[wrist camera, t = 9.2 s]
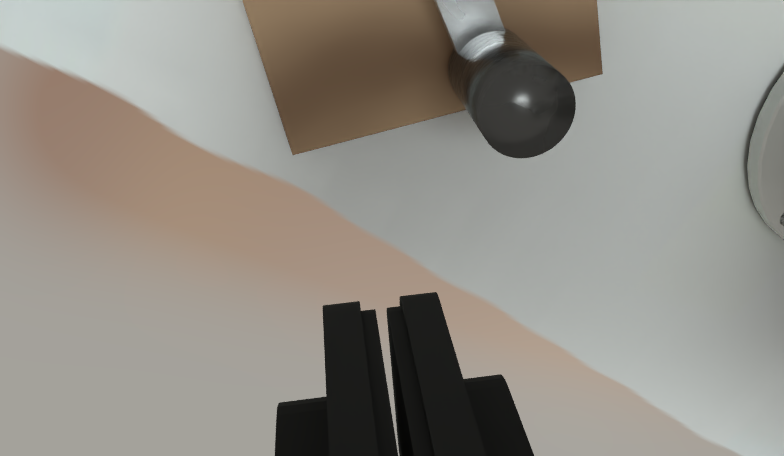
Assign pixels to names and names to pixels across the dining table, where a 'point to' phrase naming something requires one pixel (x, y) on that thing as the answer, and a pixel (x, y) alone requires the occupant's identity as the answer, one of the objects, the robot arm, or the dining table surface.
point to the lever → (504, 81)
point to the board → (392, 59)
